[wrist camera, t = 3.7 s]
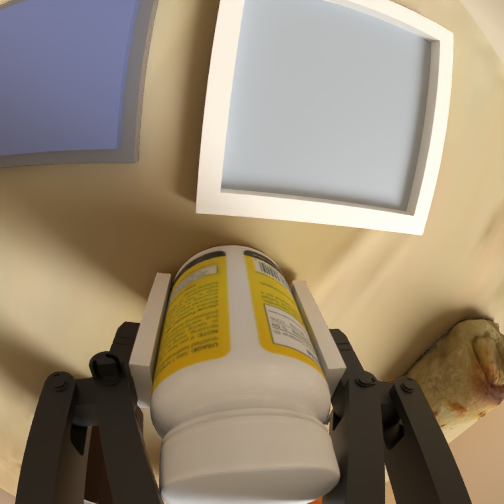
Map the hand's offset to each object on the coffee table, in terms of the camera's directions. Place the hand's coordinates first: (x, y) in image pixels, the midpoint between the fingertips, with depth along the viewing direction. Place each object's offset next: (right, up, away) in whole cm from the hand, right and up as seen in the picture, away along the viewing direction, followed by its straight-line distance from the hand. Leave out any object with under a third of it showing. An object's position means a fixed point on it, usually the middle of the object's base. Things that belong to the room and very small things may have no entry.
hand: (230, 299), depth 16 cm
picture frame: (+5, +10, -4) cm, 12 cm away
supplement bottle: (0, 0, +1) cm, 1 cm away
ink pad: (-8, +12, -6) cm, 16 cm away
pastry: (+20, -8, +7) cm, 23 cm away
